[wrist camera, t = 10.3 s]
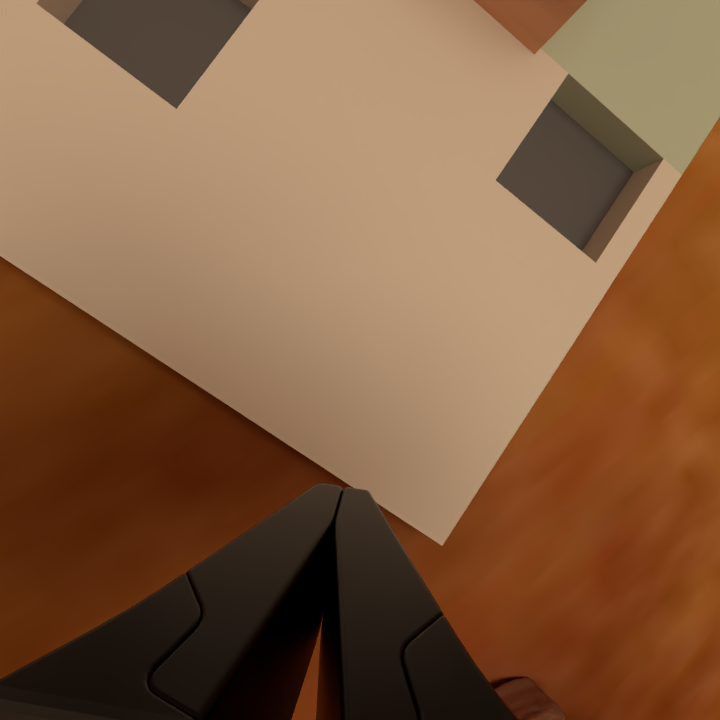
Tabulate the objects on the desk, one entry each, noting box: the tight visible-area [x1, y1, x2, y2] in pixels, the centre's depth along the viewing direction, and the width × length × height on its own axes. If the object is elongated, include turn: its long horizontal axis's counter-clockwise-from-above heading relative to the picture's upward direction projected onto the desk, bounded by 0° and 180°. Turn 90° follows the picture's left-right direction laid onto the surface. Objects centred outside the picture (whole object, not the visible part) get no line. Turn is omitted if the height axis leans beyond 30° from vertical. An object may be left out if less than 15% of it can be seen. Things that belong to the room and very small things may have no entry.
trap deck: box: [0, 0, 682, 545], centre depth 20 cm, size 17×22×2 cm
